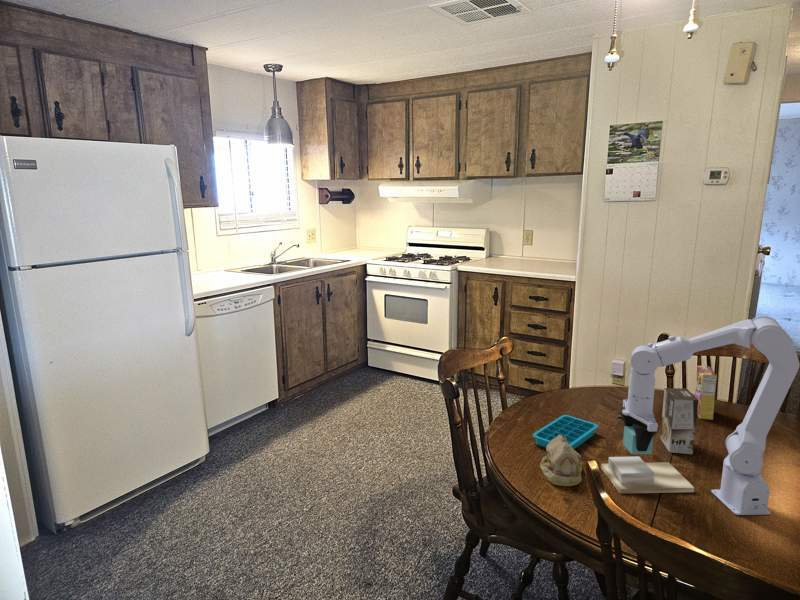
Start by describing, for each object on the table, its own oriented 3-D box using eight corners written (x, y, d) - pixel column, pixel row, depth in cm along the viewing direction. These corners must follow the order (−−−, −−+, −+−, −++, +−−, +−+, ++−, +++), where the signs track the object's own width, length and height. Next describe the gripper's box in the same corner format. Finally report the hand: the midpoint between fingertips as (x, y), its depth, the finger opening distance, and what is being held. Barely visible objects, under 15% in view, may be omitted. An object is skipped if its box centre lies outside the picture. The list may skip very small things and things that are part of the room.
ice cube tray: (599, 434, 154) (599, 425, 154) (566, 458, 140) (567, 448, 140) (564, 422, 162) (564, 414, 162) (530, 444, 149) (530, 435, 148)
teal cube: (651, 453, 125) (653, 435, 124) (631, 454, 125) (633, 435, 124) (642, 444, 130) (644, 426, 129) (622, 444, 130) (624, 426, 129)
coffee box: (693, 454, 140) (699, 400, 137) (668, 452, 142) (673, 399, 138) (682, 439, 149) (687, 388, 146) (659, 437, 150) (663, 386, 147)
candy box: (692, 407, 171) (696, 365, 168) (707, 409, 169) (711, 366, 166) (697, 418, 162) (702, 373, 159) (713, 420, 161) (718, 375, 158)
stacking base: (693, 492, 123) (695, 476, 122) (620, 493, 123) (621, 477, 122) (668, 466, 135) (669, 452, 134) (600, 467, 135) (601, 453, 134)
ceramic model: (536, 458, 141) (538, 424, 139) (578, 459, 139) (580, 426, 137) (545, 486, 127) (546, 449, 125) (591, 488, 126) (593, 451, 124)
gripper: (612, 383, 131) (609, 432, 134) (638, 406, 117) (633, 460, 120) (639, 383, 131) (635, 431, 134) (668, 406, 117) (663, 459, 120)
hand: (636, 445), depth 127 cm, fingers closed on teal cube, 5 cm apart
